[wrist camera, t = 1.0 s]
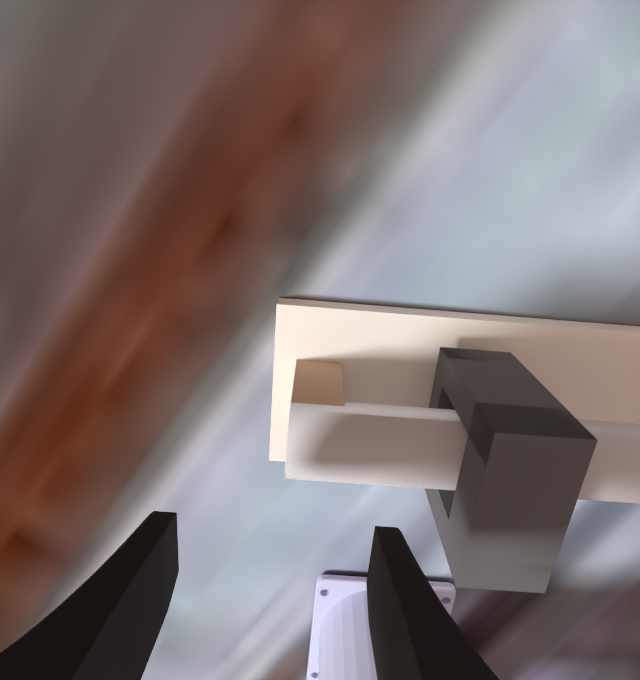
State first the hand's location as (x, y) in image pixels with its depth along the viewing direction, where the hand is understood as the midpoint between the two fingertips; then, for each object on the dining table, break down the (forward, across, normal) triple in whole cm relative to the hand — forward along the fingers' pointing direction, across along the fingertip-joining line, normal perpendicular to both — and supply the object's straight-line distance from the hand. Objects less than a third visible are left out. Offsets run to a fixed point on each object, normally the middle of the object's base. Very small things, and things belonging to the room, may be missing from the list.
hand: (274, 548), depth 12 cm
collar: (+8, -7, 0) cm, 11 cm away
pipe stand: (+10, -14, 0) cm, 17 cm away
